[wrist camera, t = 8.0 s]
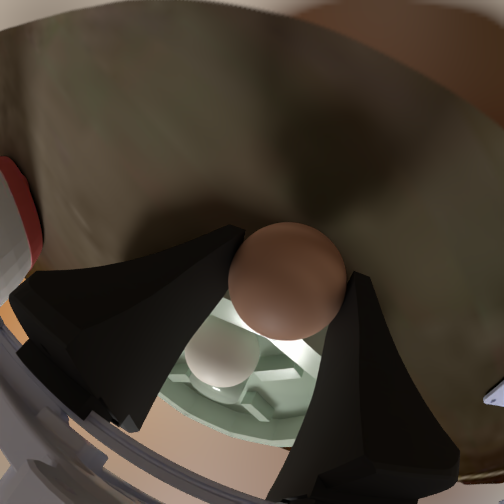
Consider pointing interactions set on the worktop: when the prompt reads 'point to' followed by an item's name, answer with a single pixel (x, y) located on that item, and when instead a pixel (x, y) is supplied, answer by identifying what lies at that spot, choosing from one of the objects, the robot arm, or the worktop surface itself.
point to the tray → (252, 388)
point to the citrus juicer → (16, 228)
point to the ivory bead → (222, 353)
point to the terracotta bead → (287, 281)
